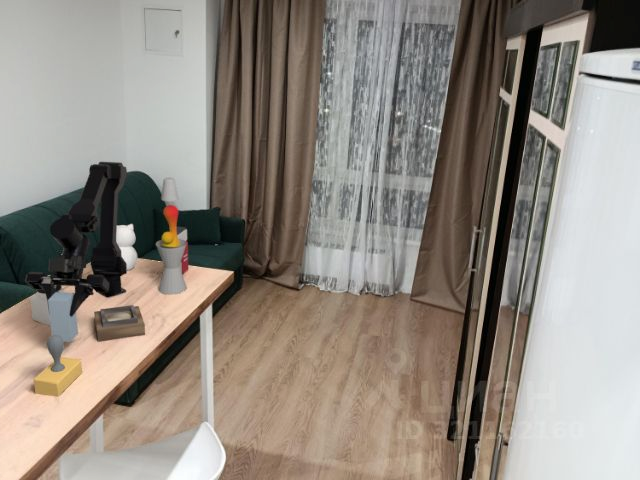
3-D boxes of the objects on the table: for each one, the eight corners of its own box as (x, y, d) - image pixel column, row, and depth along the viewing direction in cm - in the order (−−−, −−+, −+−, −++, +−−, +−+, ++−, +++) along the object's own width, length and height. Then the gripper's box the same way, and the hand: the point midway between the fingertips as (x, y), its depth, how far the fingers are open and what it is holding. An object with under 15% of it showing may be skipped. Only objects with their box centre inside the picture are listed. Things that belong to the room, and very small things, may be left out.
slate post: (59, 332, 149) (55, 292, 145) (78, 332, 149) (74, 293, 145) (52, 341, 145) (47, 300, 141) (71, 341, 145) (67, 301, 141)
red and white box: (175, 282, 189) (174, 238, 184) (163, 280, 190) (161, 236, 185) (189, 269, 199) (188, 227, 194) (177, 268, 200) (176, 225, 195)
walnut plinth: (95, 321, 162) (93, 307, 161) (139, 315, 167) (138, 302, 165) (98, 341, 152) (97, 327, 151) (145, 334, 157) (144, 320, 155)
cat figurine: (142, 262, 203) (139, 220, 198) (130, 276, 192) (127, 232, 187) (115, 260, 203) (112, 219, 198) (102, 275, 191) (99, 231, 186)
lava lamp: (170, 280, 190) (166, 173, 178) (193, 286, 187) (191, 177, 175) (151, 290, 182) (146, 179, 171) (175, 297, 179) (171, 183, 167)
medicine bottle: (72, 316, 164) (68, 276, 160) (51, 326, 158) (46, 285, 154) (53, 310, 167) (49, 270, 163) (32, 320, 161) (27, 279, 157)
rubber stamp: (59, 369, 139) (55, 323, 135) (83, 373, 139) (78, 327, 135) (34, 393, 130) (28, 345, 126) (59, 397, 129) (53, 348, 125)
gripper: (23, 240, 143) (7, 302, 136) (102, 244, 143) (89, 306, 136) (41, 259, 153) (26, 317, 146) (114, 262, 153) (103, 321, 146)
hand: (60, 315), depth 143 cm, fingers closed on slate post, 4 cm apart
